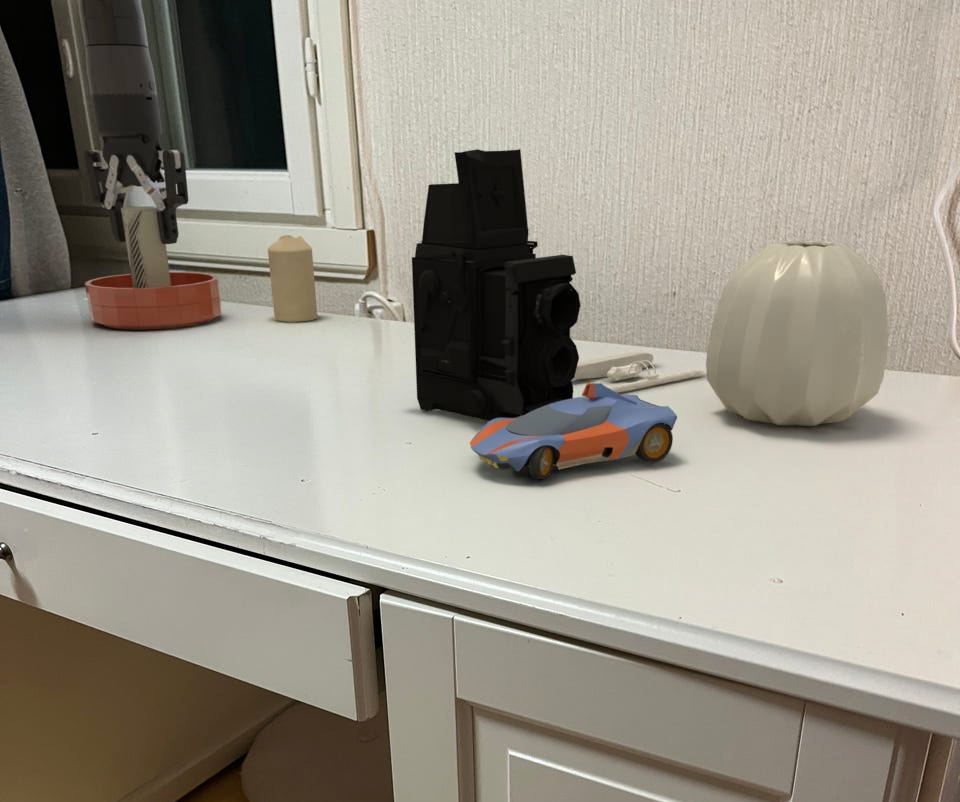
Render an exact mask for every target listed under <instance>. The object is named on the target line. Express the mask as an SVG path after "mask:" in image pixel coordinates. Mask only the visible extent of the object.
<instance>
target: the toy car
mask: <svg viewBox="0 0 960 802" xmlns="http://www.w3.org/2000/svg"><path fill="white" fill-rule="evenodd" d="M607 387H608V386H606V385H604V384H603V383H600V382H587V383H586V384H585V386H584V389H583V392H582V394H581V396H578V397H573V398H572V399H567V400H562V401H558V402H555V403H552V404H548V405H546V406H543V407H540V408H538V409H536V410H533V411H531V412H529V413H527V414H525V415H523V416H520V417H516V418H495V419H493V420H491V421H487V423H486V424H484V425H483V426H482V427H481V428H480V429H479V430H478V432H477V433H476V434H475V435H474V436H473V438H472V439H470V442H469V445H470V448H471V450H472V451H473V452H474V453H475V454H477V455H478V457H479V459H480V461H483V462H484V463H486V464H488V465H490V466H492V465H493V467H494V468H495V469H498V468H499V469H500V470H501V469H502V470H513V471H515V472H517V473H518V472H520V471H521V469H522V468H527V467H528V471H529V474H530V476H531V477H532V478H534V479H538V480H545V479H547V478H548V477H549V476H550V474H551V472H552V470H553V467H554V466H555V467H557V469H558V470H563V469H568V468H572V467H576V466H580V465H587V464H592V463H600V462H605V461H612V460H619V459H624V458H627V457H631V456H636V457H637V458H638V459H639V460H642V461H644V462H646V463H647V462H648V463H658V462H661V461H663V460H664V459H665V458H666V457H667V456H668V454H669V453H670V452H671V449H672V446H673V442H674V441H673V439H674V438H673V436H674V435H673V432H672V430H673V429H674V427H675V424H676V421H677V420H678V415H677V414H676V413H675V411H674V410H673V409H672V408H671V407H669V406H668V405H665V406H661V405H658V404H657V405H656V404H654V403H651V402H648V401H645V400H643V399H641V398H639V396H638V395H637V394H620V393H616V392H614V391H613V390H611V389H609V388H607Z"/></svg>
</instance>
